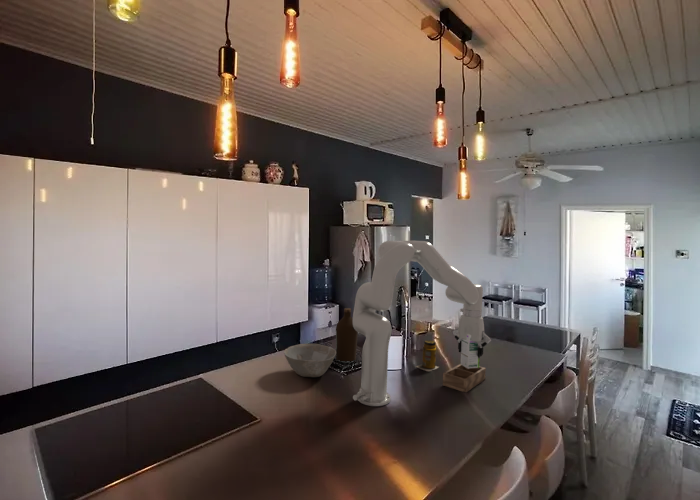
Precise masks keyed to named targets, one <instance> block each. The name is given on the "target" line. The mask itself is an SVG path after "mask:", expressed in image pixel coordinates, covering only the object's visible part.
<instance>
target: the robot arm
mask: <svg viewBox="0 0 700 500" xmlns="http://www.w3.org/2000/svg"><path fill="white" fill-rule="evenodd" d="M377 253H378V257H379V259H378V260H377V262H376V263H375V265H374V268H373V272H372V275H371V277H372V278H371V282H370V281H368V282H364V283H363V284H361V285H360V287H359V288H358V289H357V291H356V294H355V299H354V307H353V313H352V319H353V327H354V329H355V330H356V331H357V332H358V334H360V335H362V336H364V337H365V341H364V344H363V345H362V352H361V375H360V376H361V377H360V378H361V381H360V383H361V384H360V388H359V391H358V392H357V393H355V394H354V395H353V396H352V399H353V400H354V401H355V402H356V401H358V403H361V404H363V405H365V406H370V407H382V406H385V405H387V404H389V403H390V402H391V398H392V397H391V394H389V392H388V391H387V390H388V389H387V388H388V365H389V363H388V362H389V346H390V340H391V336H392V331H393V330H392V325H391V322H390V320H389V319H388V318H387V317H385V316H383V315H382V314H379V313H377V311H378V312H385V311H388V310H389V309H390V307H391V305H392V302H393V298H394V297H393V296H394V291H395V283H396V278H397V274H398V273H399V271H400V270H401V269H402V268H403V267H404V266H405V265H407V264H409V263H410V262H415V263H418V264H419V265H420V266H421V267H422V268H423V269H424V271H426V273H427V274H428V275H429V277H431V278H432V279H433V280H434V281H436V282H437V283H440V284H442V285H444V286H446V289H445V296H446V298H447V299H448V300H450V301H451V302H454V303H458V304H462V305H463V306H462V308H460V309H459V311H460V312H461V313H462V314H461V315H460V316H459V317H460V318H459V322H458V328H456V329H454V330H453V331H452V334H453V336H454V338H455V339H456V342H457V343H458V344H457V345H458V347H457V349H458V352H459V353H461V340H462V339H464V340H466V339H467V334H470V335H471V341H473V342H477V343H478V345H479V348H478V357H482V356H483V354H484V348H485V347H486V346H487V345H488V344H489V343H490V342H491V341H492V339H491V338H490V337H489V336H488V335H487V334H486V333H485V324H484V323H485V322H484V318H483V316H482V313H483V310H482V309H483V295H484V294H483V292H484V291H483V290H484V289H483V286H482V285H481V284H477V283H476V284H475V283H473V282H472V281H471V280H470V279H469V277H468V276H466V275H464V274H463V273H462V272H461V271H459V270H457V269H456V268H455V267H453V266H452V265H450V264H449V262H447V260H446V259H445V258H444V257H443V256H442V255H441V253H440V252H439V251H438V250H437V248H436V247H435V246H434V245H433V244H432V243H430V242H429V241H425V240H386V241H383V242H381V244H380V245H379V247H378V251H377ZM484 339H485V341H484Z"/></svg>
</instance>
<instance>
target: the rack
mask: <svg viewBox="0 0 700 500" xmlns="http://www.w3.org/2000/svg"><path fill="white" fill-rule="evenodd" d="M486 373H487V370H486V367H483V366H480V365H479V368H469V369H467V368H466V367H464V366H463V365H461V363H459V364H457V365H455V366H453V367H452V368H450V369H448V370H447V371H444V372H443V373H442V386H445V387H447V388H450V389H452V390H457V391H459V392H462V393H467V392H469V391H470V390H472V389H474V388H475V387H476V386H478V385H480V384H481V383H482V382H484V381H485V380H486Z"/></svg>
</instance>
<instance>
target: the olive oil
mask: <svg viewBox="0 0 700 500" xmlns="http://www.w3.org/2000/svg"><path fill="white" fill-rule="evenodd" d="M358 335H359V333H358V332H357V331H356V330H355V329H354V327H353V316H352V308H350V307H346V308H344V311H343V317H342V318H340V320H339V321H338V322H337V323H336V327H335V350H336V355H335V359H337V360H340V361H353V360H357V349H358V348H357V346H358V338H359V337H358Z"/></svg>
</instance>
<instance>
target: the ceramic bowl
mask: <svg viewBox="0 0 700 500" xmlns="http://www.w3.org/2000/svg"><path fill="white" fill-rule="evenodd" d="M283 354H284V357H285V359H286V361H287V362H288V364H289V365H290V367H291V369H292V370H293V371H294V372H295V373H296V374H297V375H298V376H301V377H303V378H320V377H322V376H323V375H324V374H325V373H326V372H327V371H328V369H329V368H330V366H331V364H333V361H334V359H335V358H336V348H333V347H330V346H328V345H324V344H319V343H299V344H295V345H291V346H288V347H287V348H285V349H284V350H283Z"/></svg>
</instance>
